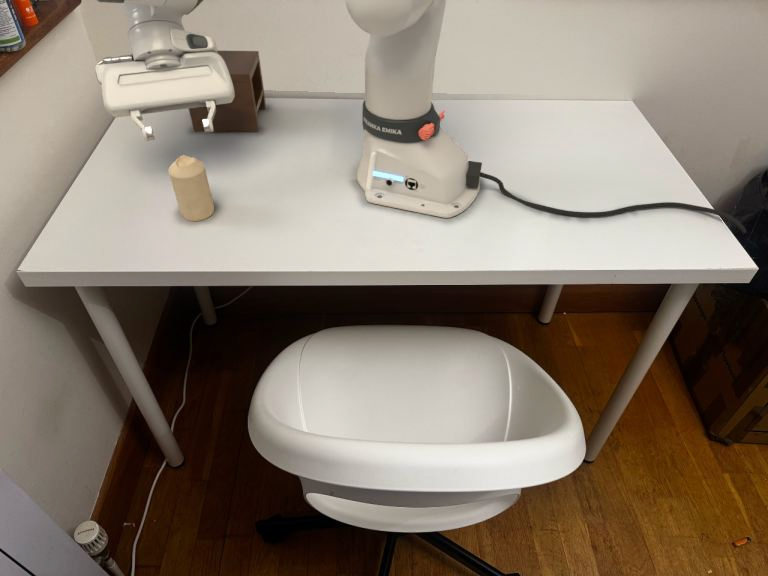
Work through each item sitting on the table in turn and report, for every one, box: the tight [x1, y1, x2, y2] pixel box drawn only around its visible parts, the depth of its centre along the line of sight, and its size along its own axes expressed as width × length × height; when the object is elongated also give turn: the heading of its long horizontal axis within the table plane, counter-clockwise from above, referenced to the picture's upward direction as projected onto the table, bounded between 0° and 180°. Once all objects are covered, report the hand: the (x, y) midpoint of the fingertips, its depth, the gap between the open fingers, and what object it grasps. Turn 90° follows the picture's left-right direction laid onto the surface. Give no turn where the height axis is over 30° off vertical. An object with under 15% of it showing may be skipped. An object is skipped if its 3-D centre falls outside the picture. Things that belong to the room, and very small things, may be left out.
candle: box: [167, 154, 215, 222], centre depth 92 cm, size 6×6×10 cm
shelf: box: [188, 50, 267, 133], centre depth 114 cm, size 13×11×12 cm
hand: (179, 135), depth 92 cm, fingers open, 8 cm apart
